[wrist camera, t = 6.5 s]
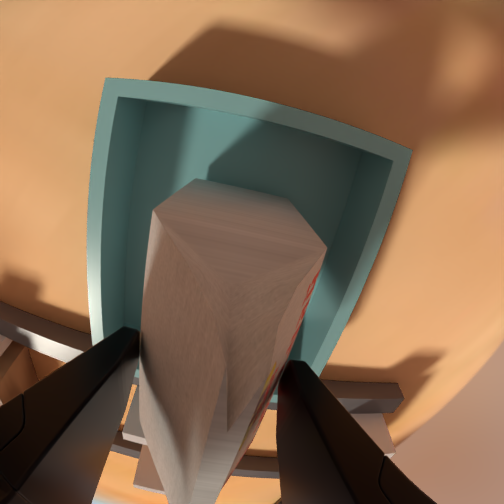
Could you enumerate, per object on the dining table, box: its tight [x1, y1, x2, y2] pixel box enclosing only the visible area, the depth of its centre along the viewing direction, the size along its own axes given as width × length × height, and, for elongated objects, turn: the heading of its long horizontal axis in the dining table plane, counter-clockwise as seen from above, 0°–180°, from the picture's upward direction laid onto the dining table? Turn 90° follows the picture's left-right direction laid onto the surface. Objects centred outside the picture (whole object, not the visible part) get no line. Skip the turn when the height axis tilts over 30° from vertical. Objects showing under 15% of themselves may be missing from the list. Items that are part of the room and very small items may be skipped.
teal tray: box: [87, 78, 413, 403], centre depth 12 cm, size 12×10×4 cm
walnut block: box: [0, 341, 38, 406], centre depth 15 cm, size 6×4×5 cm, turn 166°
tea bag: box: [139, 178, 327, 504], centre depth 8 cm, size 4×7×10 cm, turn 167°
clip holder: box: [0, 301, 405, 495], centre depth 17 cm, size 13×31×5 cm, turn 77°
